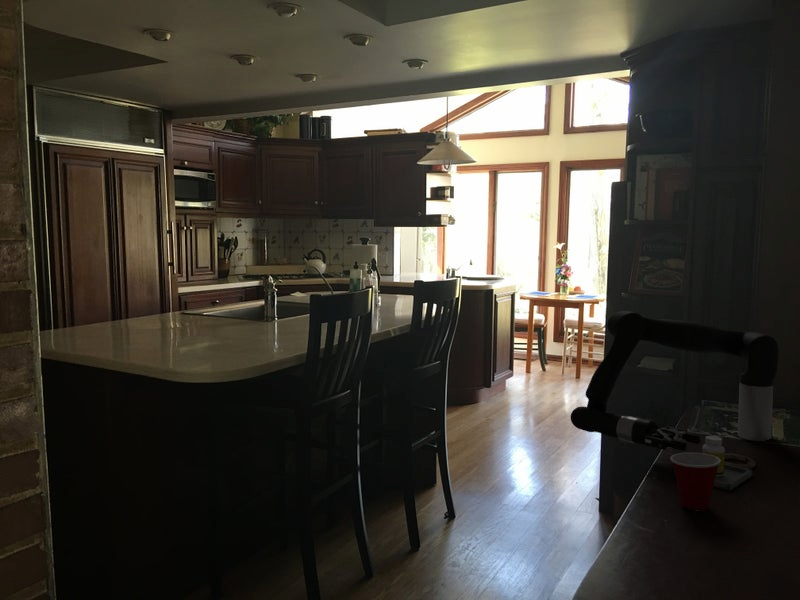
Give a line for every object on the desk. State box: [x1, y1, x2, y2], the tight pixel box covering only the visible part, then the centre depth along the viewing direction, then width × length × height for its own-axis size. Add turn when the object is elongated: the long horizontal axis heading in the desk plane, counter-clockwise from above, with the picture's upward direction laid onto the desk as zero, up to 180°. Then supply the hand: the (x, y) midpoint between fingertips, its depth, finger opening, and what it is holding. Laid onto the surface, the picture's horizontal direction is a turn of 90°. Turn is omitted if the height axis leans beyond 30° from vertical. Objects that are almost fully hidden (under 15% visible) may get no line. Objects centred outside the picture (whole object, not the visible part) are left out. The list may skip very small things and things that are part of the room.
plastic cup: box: [669, 452, 721, 512], centre depth 149 cm, size 11×11×12 cm
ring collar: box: [724, 453, 756, 470], centre depth 178 cm, size 10×10×1 cm
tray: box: [673, 463, 753, 492], centre depth 169 cm, size 15×14×2 cm
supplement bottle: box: [701, 435, 726, 477], centre depth 168 cm, size 5×5×10 cm
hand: (693, 443), depth 172 cm, fingers open, 8 cm apart
